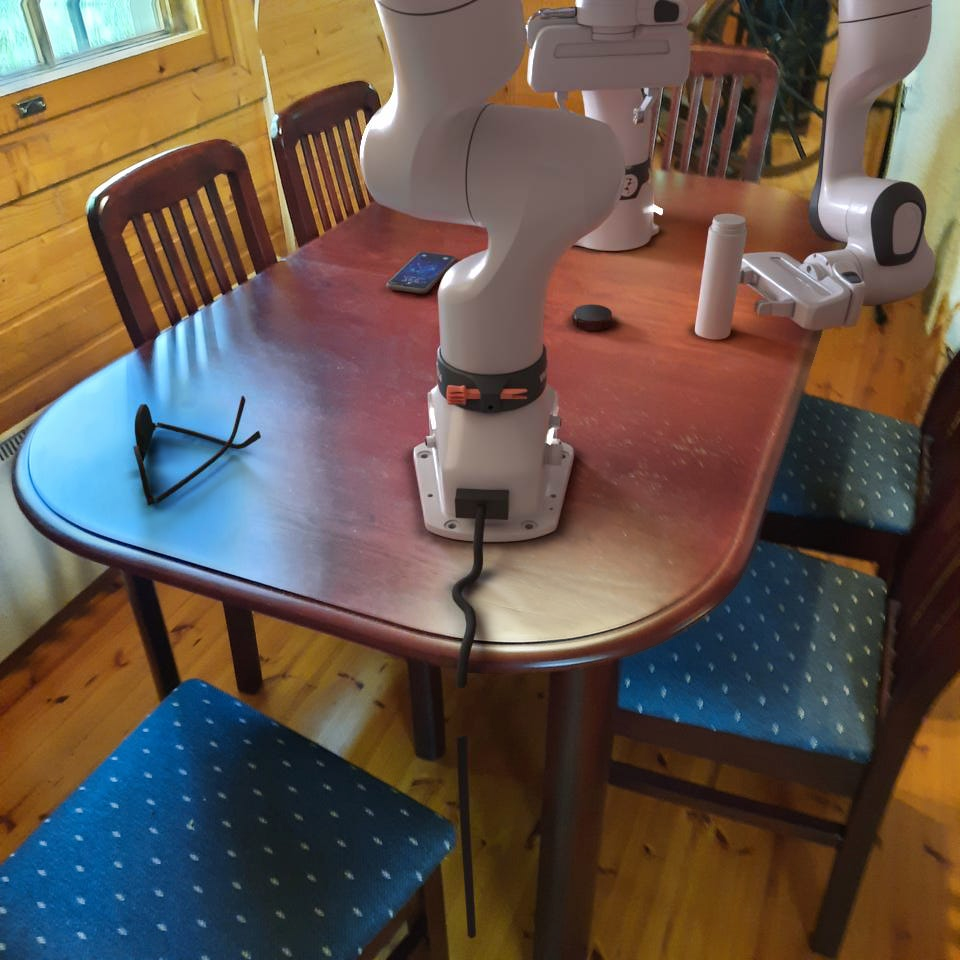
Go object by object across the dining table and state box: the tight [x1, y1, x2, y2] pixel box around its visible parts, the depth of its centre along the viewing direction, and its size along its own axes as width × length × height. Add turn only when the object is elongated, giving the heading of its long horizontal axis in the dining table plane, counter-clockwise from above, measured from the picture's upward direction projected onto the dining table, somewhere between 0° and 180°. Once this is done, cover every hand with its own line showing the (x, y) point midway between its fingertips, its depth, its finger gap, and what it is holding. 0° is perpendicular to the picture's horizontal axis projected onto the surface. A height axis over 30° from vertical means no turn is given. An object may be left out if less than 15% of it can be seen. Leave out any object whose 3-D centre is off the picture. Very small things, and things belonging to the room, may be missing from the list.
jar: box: [694, 213, 748, 340], centre depth 120 cm, size 5×5×17 cm
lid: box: [571, 303, 613, 332], centre depth 128 cm, size 6×6×2 cm
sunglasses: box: [132, 395, 262, 506], centre depth 100 cm, size 17×14×5 cm
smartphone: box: [386, 251, 457, 295], centre depth 143 cm, size 7×1×15 cm
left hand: (604, 125), depth 111 cm, fingers open, 8 cm apart
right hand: (740, 294), depth 123 cm, fingers open, 8 cm apart
